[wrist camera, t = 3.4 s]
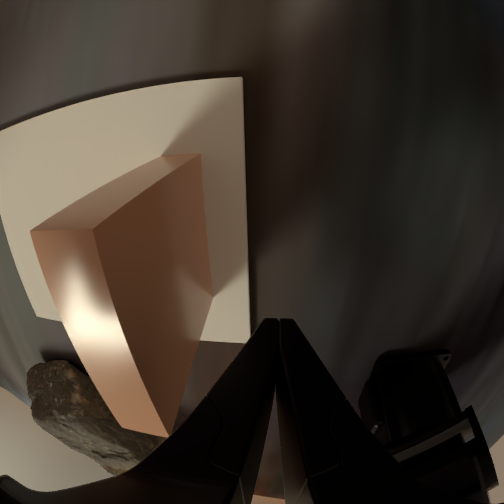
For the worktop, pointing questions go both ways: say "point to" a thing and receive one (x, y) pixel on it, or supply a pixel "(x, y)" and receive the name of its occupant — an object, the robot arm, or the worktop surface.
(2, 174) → the beige mat
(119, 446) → the rock
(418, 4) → the worktop surface
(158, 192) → the terracotta tile
